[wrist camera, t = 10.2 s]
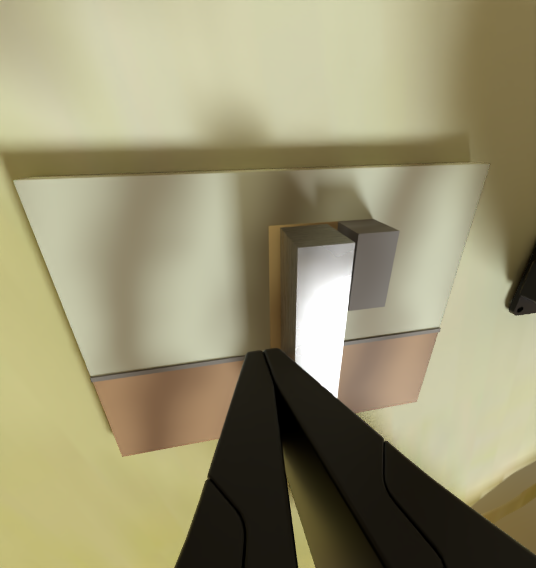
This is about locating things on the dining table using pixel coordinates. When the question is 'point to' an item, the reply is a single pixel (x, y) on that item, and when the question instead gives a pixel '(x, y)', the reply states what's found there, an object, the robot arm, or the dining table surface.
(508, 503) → the dining table surface
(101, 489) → the dining table surface
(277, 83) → the dining table surface
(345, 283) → the bar
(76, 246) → the door mock-up board
